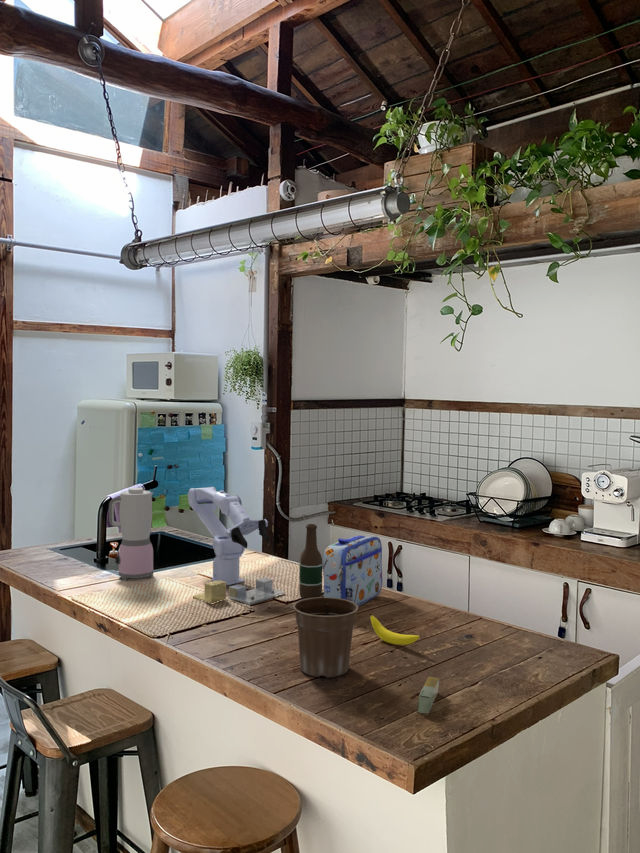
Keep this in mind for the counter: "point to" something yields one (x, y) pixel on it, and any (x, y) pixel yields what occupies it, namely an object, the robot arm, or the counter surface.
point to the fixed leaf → (254, 592)
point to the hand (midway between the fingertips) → (257, 542)
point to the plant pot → (325, 635)
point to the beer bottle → (310, 566)
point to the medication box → (428, 695)
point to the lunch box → (353, 569)
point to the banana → (391, 634)
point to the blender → (134, 533)
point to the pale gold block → (213, 592)
